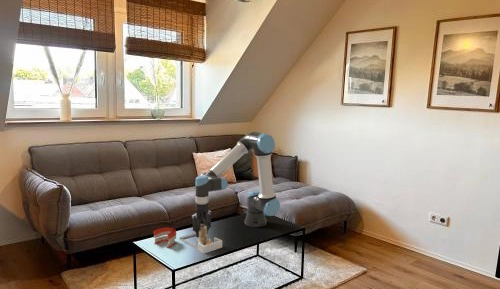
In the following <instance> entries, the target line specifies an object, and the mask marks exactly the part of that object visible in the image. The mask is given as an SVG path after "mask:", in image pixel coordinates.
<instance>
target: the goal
mask: <svg viewBox="0 0 500 289" xmlns="http://www.w3.org/2000/svg"><path fill="white" fill-rule="evenodd" d="M196 246H197V251H199V252H201V253H202V254H207V253H210V252H213V251H215V250H218V249H222V248H223V240H222V239H220V238H217V237H213V243H211V244H208V245H205V246H204V245H202V244H200V243H197V242H196Z"/></svg>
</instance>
